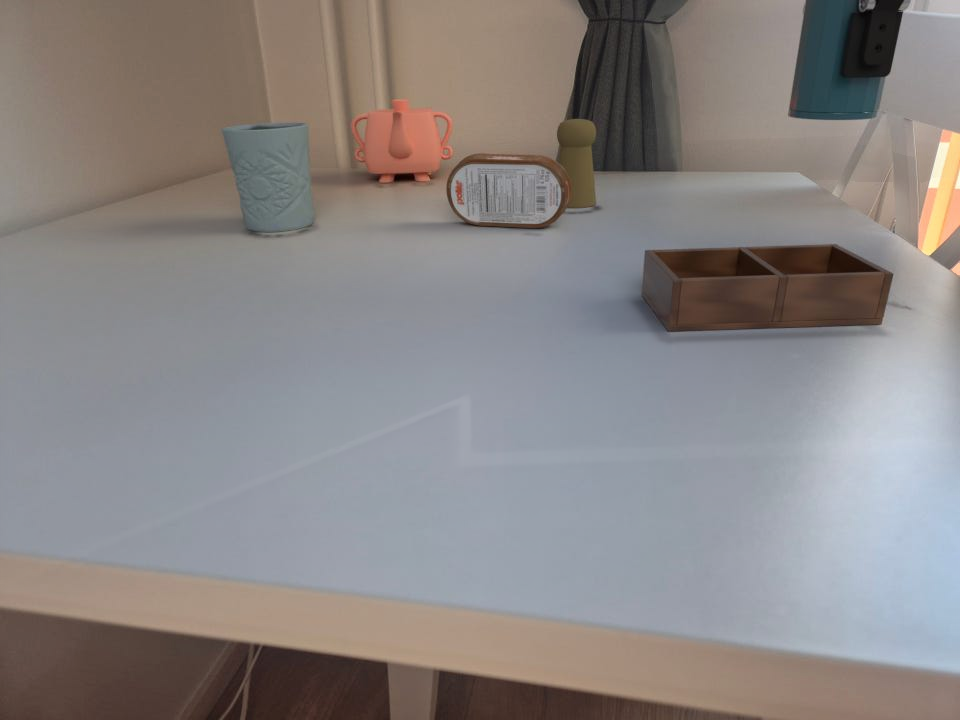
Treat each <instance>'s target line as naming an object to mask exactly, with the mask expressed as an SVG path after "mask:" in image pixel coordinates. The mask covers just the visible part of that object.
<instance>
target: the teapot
mask: <svg viewBox="0 0 960 720" xmlns="http://www.w3.org/2000/svg"><path fill="white" fill-rule="evenodd" d="M409 101H410V100H409V99H407V98H397V99H392V100H391V105H392V107H393V108H391V109H390V108H388V109H373V110H371V111H368V113H360V114H358V115H356V116H355V117H354V118H353V119H352V121H351V123H350V130H351V131H350V132H351V135H352V136H353V138H354V140H355V142H356V143H357V145H358V146H359V148H356V149H355V150H354V154H353V155H354V158H355V160H356V161H357V162H359V163H364V164H365V166H366V169H367V172H368V173H369V174H377V175H380V177H379V179H378V183H382V184H385V183H388V184H389V183H393V182H394V181H395V177H396V176H397V174H413V176H414V180H415V182H429V181H431V179H430V175H432V172H433V173H434V172H437V171H439V169H440V166H441V162H442V160H443V161H445V160H450V159H451V158H452V157H453V154H454V150H453V147H452V146H451V145H448V142H449V139H450V137H451V134H452V133H453V132H452V131H453V129H454V128H453V126H454V125H453V120H452V118H451V116H449V114H447V113H445V112H444V111H440V110H439V111H438V110H436V111H434V110H433V108H430V107H426V108H425V107H422V108H419V107H417V108H410V102H409ZM436 118H442V119H444V120H445V121H446V131H445V133H444V135H443V137H442V139H441V136H440V130H439V126H438V123H437V119H436ZM362 120H366V122H365V123H366V124H365V130H364V138H363V139H364V141H363V140H362V138H361V136H360V134H359V132H358V128H357V124H358V122H360V121H362ZM445 150H448V153H447V154H446V153H445ZM360 153H362V154H363V156H360Z"/></svg>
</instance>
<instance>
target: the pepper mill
mask: <svg viewBox="0 0 960 720" xmlns="http://www.w3.org/2000/svg"><path fill="white" fill-rule="evenodd" d="M556 138H557V142H558V143H559V146H560V149H559V156H558V161H557V162H558V163H559V164H560V165H561V166H562V167H563V168H564V169H565V171H566V172H567V174H568V176H569V179H570V182H571V199H570V202H569V204H568V207H567V208H566V209H568V208H569V209H580V208H581V209H582V208H590V207H593V206H596V204H597V196H596V185H595V172H594V162H593V160H594V159H593V151H592V148H593V147H592V145H593V144H594V142H595V141H596V138H597V127H596V124H594V122H593V121H591V120H589V119H584V118H583V119H582V118H571V119H566V120H563V121H561V122H560V123H559V125H558V126H557V130H556Z"/></svg>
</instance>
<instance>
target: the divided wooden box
mask: <svg viewBox="0 0 960 720" xmlns="http://www.w3.org/2000/svg"><path fill="white" fill-rule="evenodd" d="M893 278H894V273H893V272H891V271H890V270H887V269H885V268H884V267H882V266H880V265H877V264H876V263H874V262H872V261H870V260H868V259H866V258H864V257H862V256H860V255H858V254H856V253H855V252H853V251H850V250H849V249H846V248H845V247H843V246H840V245H839V244H837V243H830V244H829V243H828V244H827V243H826V244H795V245H794V244H793V245H792V244H791V245H766V246H764V245H763V246H761V245H759V246H729V247H700V248H696V247H695V248H671V249H670V248H669V249H668V248H667V249H645V250H644V257H643V271H642V284H641V294H640V295H641V296H642V298H643V300H644V301H645V302H646V303H647V305H648V306H649V307H650V309H651V310H652V311H653V312H654V314H655V316H656V317H657V318H658V319H659V321H660V323H662V325H663V326H664V327H665V329H666V330H667V332H687V331H692V332H693V331H717V330H718V331H719V330H722V331H723V330H749V329H779V328H780V329H781V328H810V327H811V328H812V327H836V326H837V327H838V326H840V327H841V326H867V325H868V326H871V325H873V326H874V325H882V324H883V320H884V317H885V312H886V307H887V304H888V300H889V295H890V291H891V287H892V283H893Z"/></svg>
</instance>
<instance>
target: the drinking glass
mask: <svg viewBox="0 0 960 720" xmlns="http://www.w3.org/2000/svg"><path fill="white" fill-rule="evenodd" d="M221 133H222V136H223V140H224V143H225V147H226V151H227V155H228V159H229V162H230V167H231V170H232V172H233V174H234V180H235V185H236V189H237V193H238V196H239V206H240V210H241V213H242V218H243V221H244V226H245V229H247V230H249V231H253V232H259V233H278V232H290V231H294V230H300V229H303V228H306V227H309V226H311V225H313V224H314V221H315V210H314V198H313V194H312V188H311V187H312V178H311V170H310V169H311V168H310V165H311V164H310V161H311V157H310V137H309V124H308V123H306V122H268V123H251V124H249V123H248V124H238V125H232V126H226V127H223V128H222V129H221Z"/></svg>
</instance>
